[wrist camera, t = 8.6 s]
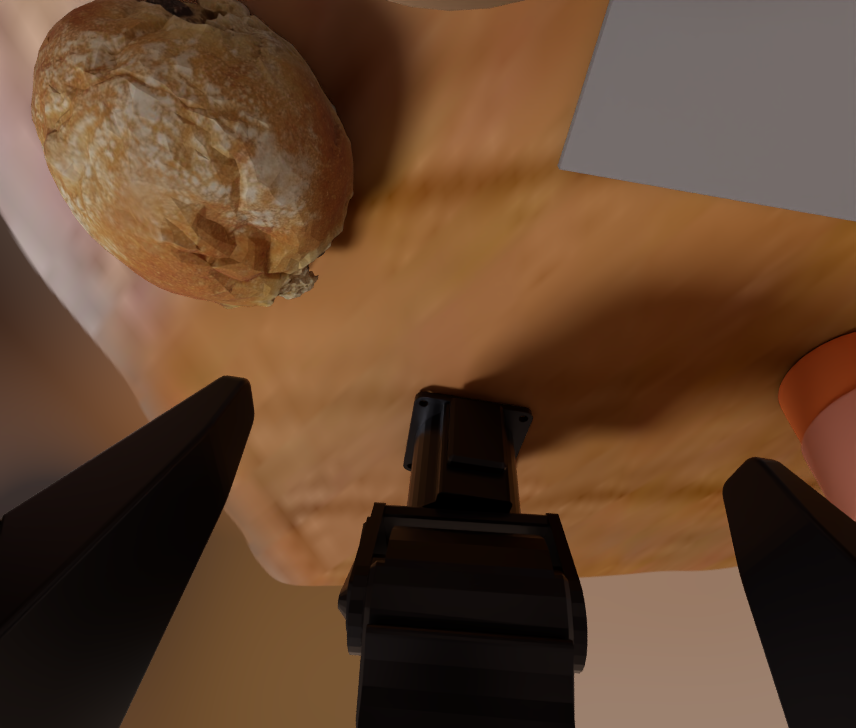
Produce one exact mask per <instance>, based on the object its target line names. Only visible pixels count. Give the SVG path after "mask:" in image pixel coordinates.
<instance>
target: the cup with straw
mask: <svg viewBox="0 0 856 728" xmlns="http://www.w3.org/2000/svg"><path fill="white" fill-rule="evenodd" d="M778 399H779V404H780V406H781V409H782V411H783V413H784V414H785V416H786V418H787V420H788V421H789V423H790V425H791V427H792V428H793V430H794V432H795V434H796V435H797V437H798V439H799V441H800V442H801V444H802V446H801V448H802V454H803V456H804V459H805V461H806V462H807V464H808V466H809V468H810V470H811V471H812V473H813V475H814V477H815V478H816V480H817V482H818V484H819V486H820V487H821V489H822V491H823V493H824V494H825V496H826V498H827V500H828V501H830V502H831V503H832V504H833V505H835V506H836V507H837V508H839V509H840V510H841V511H842V512H844V513H845V514H846V515H847V516H849V517H850V518H851V519H853V520H854V521H855V522H856V332H853V333H850V334H847V335H843V336H841V337H838V338H836V339H833V340H831V341H829V342H827V343H825V344H823V345H821V346H819V347H817V348H816V349H814V350H812V351H811V352H809V353H808V354H807V355H805V356H804V357H803V358H801V359H800V360H799V361H798V362H797V363H796V364H795V365H794V366H793V367H792V368H791V369H790V370H789V371H788V373H787V374H786V375H785V377H784V379H783V381H782V383H781V385H780V388H779V392H778Z"/></svg>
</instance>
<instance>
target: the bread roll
mask: <svg viewBox="0 0 856 728" xmlns="http://www.w3.org/2000/svg"><path fill="white" fill-rule="evenodd" d="M197 3H198V4H193V3H186V2H180V1H178V0H146V1H145V0H95V1H92V2H90V3H88V4H85V5H83V6H80V7H78V8H76V9H74V10H72V11H71V12H69V13H68V14H67V15H66V16H64V17H63V18H62V19H61V20H59V21H58V22H57V23H56V24H55V25H54V26H53V27H52V29H51V30H50V31H49V32H48V34H47V36H46V38H45V39H44V41H43V43H42V45H41V47H40V49H39V53H38V58H37V61H36V64H35V67H34V78H33V94H32V103H31V107H32V111H31V113H32V120H33V122H34V124H35V127H36V130H37V134H38V137H39V139H40V141H41V143H42V148H43V152H44V156H45V159H46V162H47V165H48V168H49V171H50V173H51V175H52V177H53V179H54V181H55V183H56V185H57V187H58V189H59V191H60V193H61V195H62V197H63V198H64V200H65V201H66V203H67V204H68V206H69V207H70V209H71V211H72V213H73V215H74V216H75V218H76V219H77V220H78V222H79V223H80V224H81V225H82V227H83V228H84V229H85V230H86V231H87V232H88V233H89V235H90V236H91V237H92V238H94V239H95V240H96V241H97V242H98V243H99V244H100V245H101V246H102V247H103V248H104V249H106V250H107V251H108V252H109V253H111V254H112V255H113V256H115V257H116V258H117V259H119V260H120V261H121V262H123V263H124V264H125V265H127V266H128V267H129V268H130V269H132V270H133V271H134V272H135V273H136V274H138V275H139V276H141V277H142V278H144V279H145V280H147V281H148V282H150V283H152V284H154V285H156V286H157V287H159V288H162V289H164V290H167V291H169V292H172V293H175V294H179V295H183V296H187V297H191V298H195V299H200V300H207V301H212V302H215V303H218V304H219V305H221V306H223V307H224V308H226V309H232V308H235V307H253V306H265V307H269V306H271V305H272V304H273V302H274V299H275V297H277V296H278V295H279V296H282V297H284V298H286V299H292V298H296V297H300V296H301V295H302V294H303V293H305V292H307V291H309V290H311V289H312V288H313V286H314V283H315V282H316V281H317V279H318V276H319V275H318V276H314V273H313V271H310V272H309V267H308V264H310V263H312V262H313V261H314V260H315V259H316V258H318V257H320V256H322V255H323V254H324V253H325V251H326V250H327V249H328V248H329V247H330V246H331V242H332V240H333V239H334V238H335V237H336V236H337V235H339V234H340V233H341V232H342V231H343V226H344V219H345V217H346V214H347V207H348V203H349V200H350V199H351V198H352V196H353V194H354V192H353V157H352V150H351V142H350V139H349V138H348V137H347V135H346V133H345V130H344V127H343V125H342V123H341V121H340V119H339V117H338V116H337V113H336V109H335V106H334V105H332V104H331V103H330V101H329V99H328V98H327V96H326V95H325V93H324V92H323V90H322V89H321V87H320V85H319V83H318V80H317V79H316V77H315V75H314V74H313V72H312V71H311V69H310V67H309V66H308V64H307V63H306V61H305V60H304V59H303V58H302V56H301V55H300V54H299V52H298V51H297V50H296V49H295V47H294V46H293V45H292V44H291V43H289V42H288V41H286V40H285V39H283V38H282V37H280V36H279V35H278V34H276V33H275V32H273V31H272V30H271V29H270V28H269V27H267V26H266V25H265V24H264V23H263V22H262V21H261V20H260V19H258V18H257V17H256V16H255V15H252V16H250V12H249V10H248V9H247V7H246V6H245V5H244V4H243V3H242V2H239V1H236V0H197Z"/></svg>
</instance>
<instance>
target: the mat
mask: <svg viewBox="0 0 856 728" xmlns="http://www.w3.org/2000/svg"><path fill="white" fill-rule="evenodd" d="M558 167H559V169H561V170H567V171H573V172H578V173H584V174H590V175H595V176H601V177H607V178H612V179H618V180H624V181H629V182H635V183H641V184H647V185H652V186H658V187H664V188H669V189H675V190H681V191H686V192H692V193H698V194H703V195H709V196H715V197H720V198H726V199H732V200H737V201H743V202H749V203H755V204H760V205H766V206H772V207H777V208H783V209H789V210H794V211H800V212H806V213H811V214H817V215H823V216H828V217H834V218H840V219H845V220H851V221H856V0H610V2H609V5H608V8H607V11H606V14H605V17H604V21H603V24H602V27H601V30H600V33H599V37H598V40H597V43H596V46H595V49H594V52H593V56H592V59H591V62H590V65H589V68H588V71H587V75H586V78H585V81H584V84H583V87H582V91H581V94H580V97H579V100H578V103H577V106H576V110H575V113H574V116H573V119H572V122H571V125H570V129H569V132H568V135H567V138H566V141H565V145H564V148H563V151H562V154H561V157H560V160H559V164H558Z"/></svg>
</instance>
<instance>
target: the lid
mask: <svg viewBox="0 0 856 728" xmlns="http://www.w3.org/2000/svg"><path fill="white" fill-rule="evenodd" d="M387 1H391V2H395V3H398V4H402V5H406V6H409V7H417V8H427V9H437V10H446V11H455V10H470V9H486V8H493V7H497V6H502V5H506V4H510V3H515V2H519V1H523V0H387Z"/></svg>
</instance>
